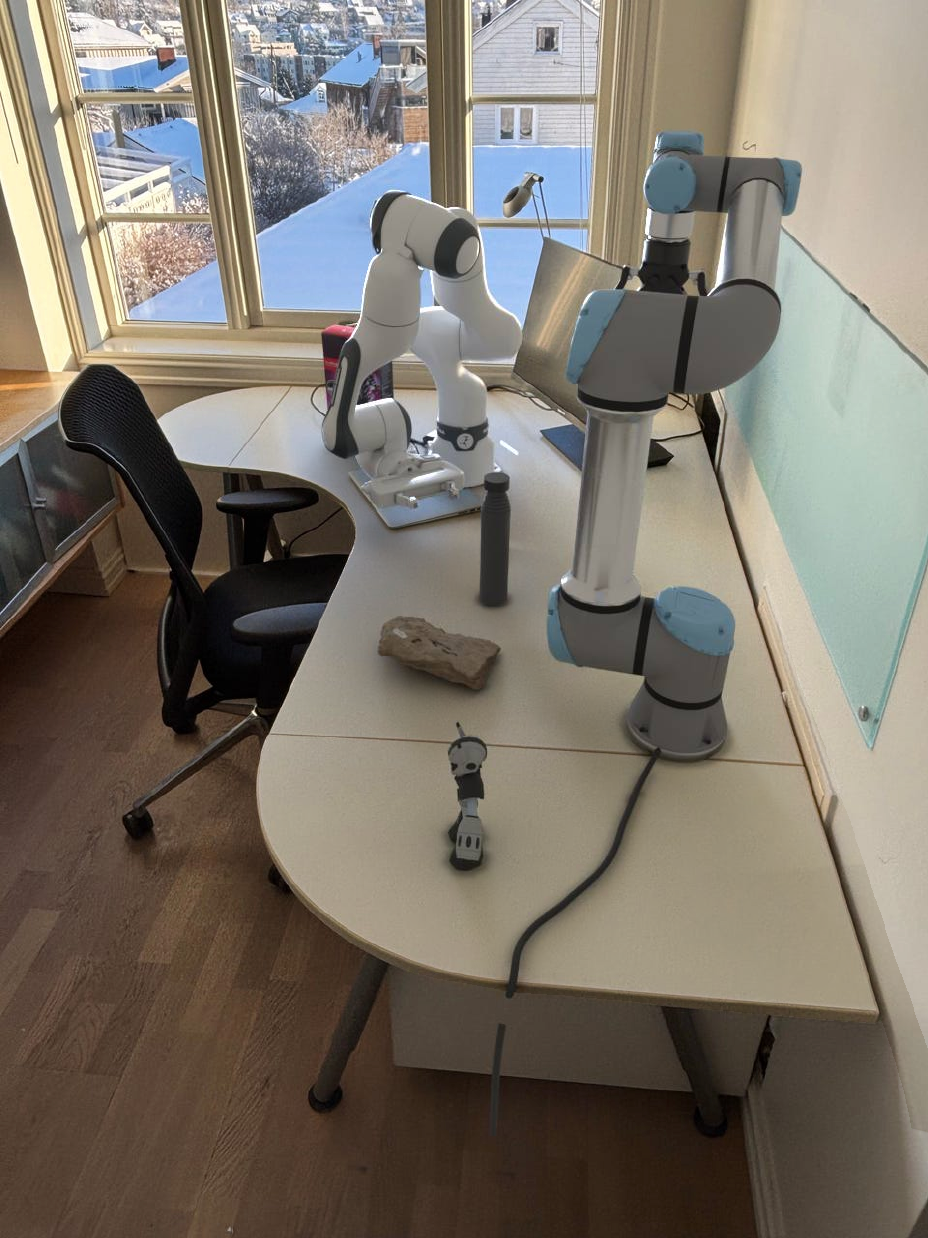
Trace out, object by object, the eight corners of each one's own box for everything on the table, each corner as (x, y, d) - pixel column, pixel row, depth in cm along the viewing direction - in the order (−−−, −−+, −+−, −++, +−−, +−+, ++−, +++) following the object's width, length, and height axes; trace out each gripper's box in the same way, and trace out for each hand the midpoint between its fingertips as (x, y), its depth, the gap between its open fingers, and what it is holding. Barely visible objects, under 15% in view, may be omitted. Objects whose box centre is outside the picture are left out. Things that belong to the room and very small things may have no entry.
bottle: (509, 593, 176) (514, 474, 162) (504, 608, 172) (508, 487, 158) (482, 590, 177) (485, 471, 163) (476, 604, 173) (479, 484, 159)
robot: (489, 905, 115) (493, 789, 104) (450, 907, 115) (450, 790, 104) (479, 793, 131) (482, 682, 120) (445, 794, 131) (445, 683, 120)
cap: (511, 483, 163) (511, 473, 162) (506, 494, 159) (507, 484, 158) (486, 480, 163) (486, 470, 162) (481, 491, 160) (481, 481, 159)
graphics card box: (326, 436, 238) (318, 330, 223) (342, 427, 243) (334, 322, 228) (383, 449, 231) (378, 340, 216) (397, 439, 237) (393, 333, 221)
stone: (354, 663, 151) (360, 631, 149) (385, 632, 165) (392, 602, 162) (474, 706, 148) (483, 673, 145) (496, 671, 161) (504, 640, 159)
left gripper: (356, 471, 186) (388, 496, 176) (444, 452, 195) (478, 475, 186) (358, 499, 190) (389, 526, 180) (443, 479, 199) (478, 503, 189)
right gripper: (746, 237, 151) (725, 364, 163) (595, 227, 157) (585, 351, 169) (746, 247, 145) (723, 378, 157) (589, 236, 151) (579, 364, 163)
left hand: (435, 500), depth 183 cm, fingers open, 8 cm apart
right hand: (652, 364), depth 163 cm, fingers open, 13 cm apart
